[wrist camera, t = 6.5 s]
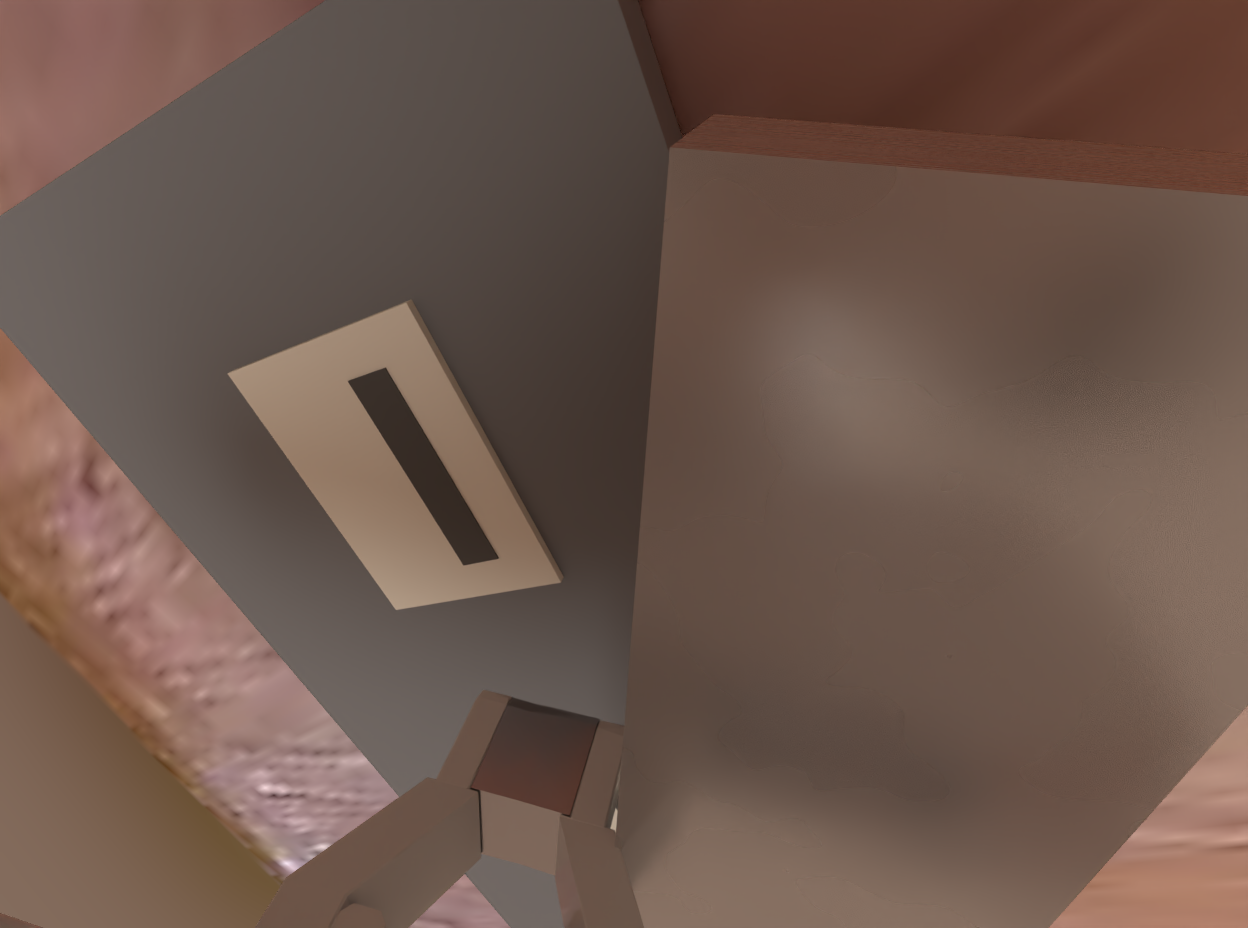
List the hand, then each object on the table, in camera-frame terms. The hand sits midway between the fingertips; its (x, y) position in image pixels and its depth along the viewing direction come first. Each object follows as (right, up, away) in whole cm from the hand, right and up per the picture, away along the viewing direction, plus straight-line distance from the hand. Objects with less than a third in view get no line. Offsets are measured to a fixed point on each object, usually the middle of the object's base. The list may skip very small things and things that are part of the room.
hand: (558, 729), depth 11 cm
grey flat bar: (+4, -5, +3) cm, 7 cm away
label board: (-1, -1, +8) cm, 8 cm away
